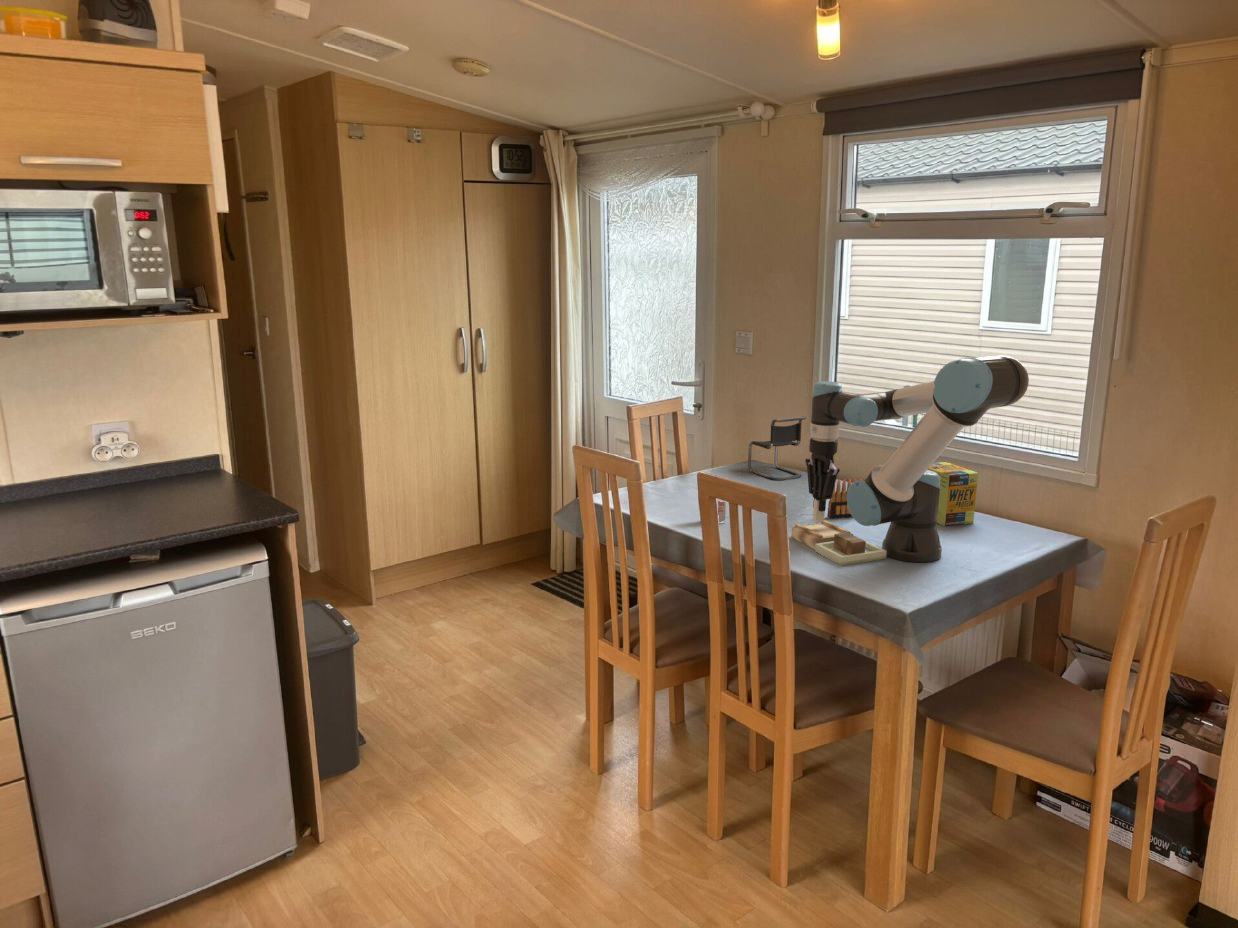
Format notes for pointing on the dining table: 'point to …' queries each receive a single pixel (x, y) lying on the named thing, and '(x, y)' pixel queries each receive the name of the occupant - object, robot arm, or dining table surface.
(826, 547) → the sage tray
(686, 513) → the dining table surface
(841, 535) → the walnut block rear
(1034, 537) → the dining table surface
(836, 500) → the ammunition clip
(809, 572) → the dining table surface
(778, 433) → the chair
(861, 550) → the walnut block front
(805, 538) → the slot board
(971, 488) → the protein box
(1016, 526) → the dining table surface
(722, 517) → the tea bag
